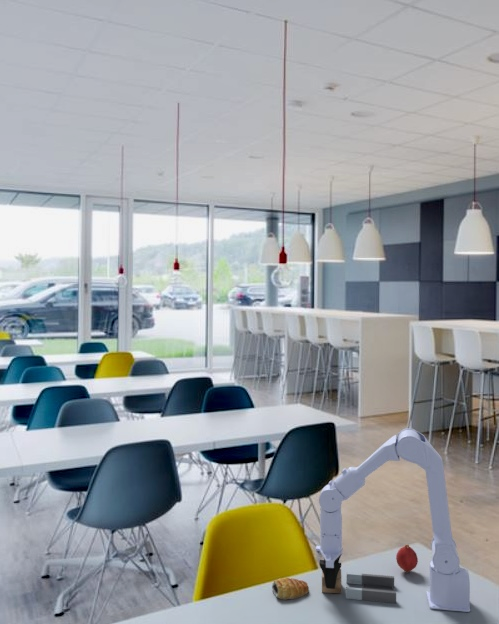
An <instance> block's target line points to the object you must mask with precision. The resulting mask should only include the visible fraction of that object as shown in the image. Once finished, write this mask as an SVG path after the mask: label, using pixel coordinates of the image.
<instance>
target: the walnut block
mask: <svg viewBox="0 0 499 624" xmlns="http://www.w3.org/2000/svg"><path fill="white" fill-rule="evenodd" d="M321 571H322V570H321ZM321 592H322V593H329V594H330V593H331V594H342V569H341V568H340V570H339V572H338V574H337V579H336V585H335V588H334V589H330V588H326V584H325V579H324V574H323V571H322V572H321Z"/></svg>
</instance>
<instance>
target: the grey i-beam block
mask: <svg viewBox="0 0 499 624" xmlns="http://www.w3.org/2000/svg"><path fill="white" fill-rule="evenodd" d="M346 584H351V585H361V586H363V588H362V587H351V586H350V587H349V586H346V587H345V600H346V599H348V600H358V601H359V600H360V601H369V602H379V603H389V604H390V603H393V604H397V591H396V590H395V591H394V589H393V588H395V576H394V575H383V574H382V575H381V574H373V573H372V574H370V573H359V572H358V573H357V572H348V571H347V572H346Z"/></svg>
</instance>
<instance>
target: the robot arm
mask: <svg viewBox="0 0 499 624" xmlns="http://www.w3.org/2000/svg"><path fill="white" fill-rule="evenodd" d="M400 458H401V459H402V460H404V461H405V462H409V463H413V464H416V465H417V466H419V467H420V468H421V469H423V470H424V471H425V477H426V486H427V493H428V502H429V510H430V516H431V525H432V534H433V536H432V540H431V542H430V549H431V552H432V560H431V561H430V562H429V590H426V598H427V601H428V606H429V609H432V610H443V611H453V612H463V613H469V612H471V609H470V607H471V606H470V604H471V601H470V598H471V594H470V593H471V592H470V591H471V590H470V589H471V587H470V586H471V585H470V584H471V583H470V574H469V570H468V569H467V568H464V567H460V565H461V564H460V557H459V555H458V550H457V543H456V541H455V540H454V538H453V534H452V525H451V517H450V510H449V509H450V508H449V501H448V494H447V486H446V478H445V476H446V475H445V469H444V461H443V458H442V456H441V455H440V453H438V451H437V450H436V448H434V447H433V445H432V444H431V443H430V442H429V440H428V439H427V438H426V436H425V435H424V434H423V433H421V432H419V431H417V430H416V429H414V428H412V427H411V428H410V427H409V428H408V427H407V428H406V427H405V428H404V429H401V430H400V431H399V432H398V434H394V435H393V436H391V437H390V438H389V439H387V441H385V442H383V444H382V445H381V446H380V447H378V448H377V449H376V450H374V452H373V453H371V455H369V456H368V457H367V458H366V459H365V460H364V461H363V462H362V463H361V464H360V465H359V466H358V465H357V467H356V466H349V467H348V468H346V467H344V468H343V469H342V470H341V474H340V475H339V476H337V477H336V478H335V479H334V480H332V479H331V480H330V481H329V482H328V484H326V485H325V486H324V487H323V488H322V489H321V492H320V495H319V497H318V504H319V506H320V513H319V533H320V534H319V539H320V540H319V543H320V544H319V545H316V546H315V551H316V552H319V553H320V554H321V555H322V558H323V559H319V563H318V564H319V567H320V569H321V571H323V574H324V579H325V584H326V588H330V589H334V588H335V585H336V579H337V574H338V572H339V570H340V569H341V567H342V562H340V558H341V556H342V555H343V551H344V550H343V514H342V504H343V501H346V500H348V499H349V498H351V497H352V496H353V495H354V494H356V492H358V491H359V490H360V489H361V488H363V487H364V486H365V485H366V478H367V477H368V476H369V475H371V474H372V473H374V472H375V471H376V470H378V469H379V468H381V466H383V465H384V464H385V463H387V462H388V461H393V462H399V461H400Z"/></svg>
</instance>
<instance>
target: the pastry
mask: <svg viewBox="0 0 499 624" xmlns="http://www.w3.org/2000/svg"><path fill="white" fill-rule="evenodd" d="M271 588H272V592H273V595H275V597H276V598H277V599H279V600H282V601H283V600H284V601H285V600H288V599H290V600H293V599H297V598H301V597H304V596H306V594H308V593H309V591H310V589H309V585H308V583H307V582H306V581H305V580H301V579H300V580H299V579H295V578H293V577H292V578H289V577H284V578H282V577H280V578H278V579H274V580H273V582H272V585H271Z"/></svg>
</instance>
